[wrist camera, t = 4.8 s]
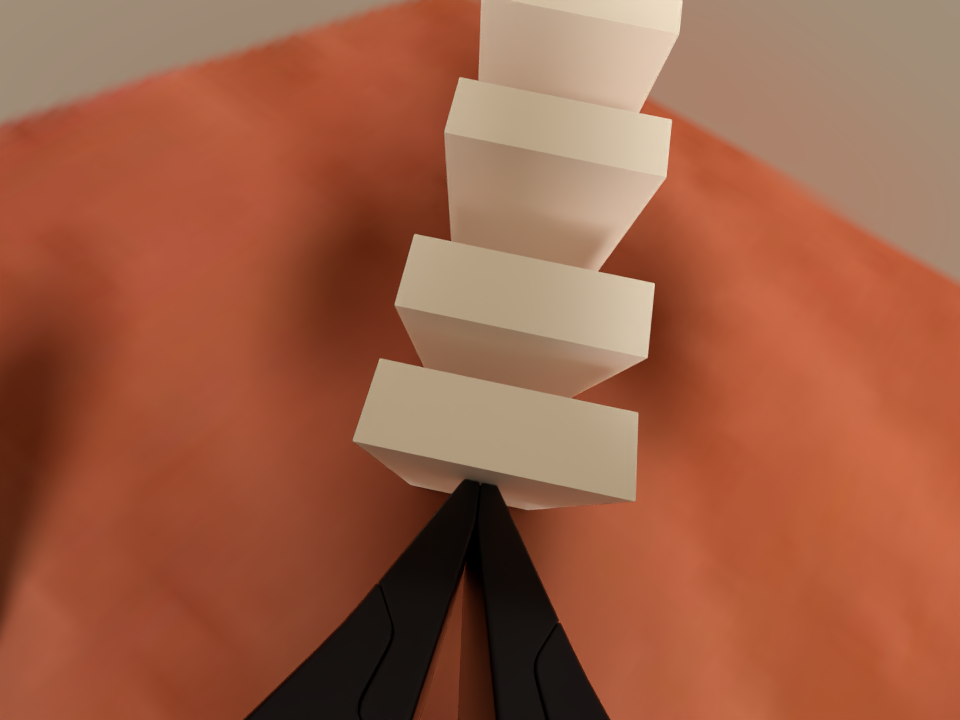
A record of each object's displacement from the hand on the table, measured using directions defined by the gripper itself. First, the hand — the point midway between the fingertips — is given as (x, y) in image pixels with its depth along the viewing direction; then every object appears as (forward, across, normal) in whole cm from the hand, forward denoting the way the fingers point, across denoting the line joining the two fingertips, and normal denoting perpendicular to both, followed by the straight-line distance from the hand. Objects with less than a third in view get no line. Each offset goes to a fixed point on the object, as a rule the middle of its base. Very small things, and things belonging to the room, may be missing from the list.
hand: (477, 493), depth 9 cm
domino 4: (+14, 0, +4) cm, 15 cm away
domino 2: (+8, 0, -2) cm, 8 cm away
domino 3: (+11, 0, +1) cm, 11 cm away
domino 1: (+5, 0, -5) cm, 7 cm away
